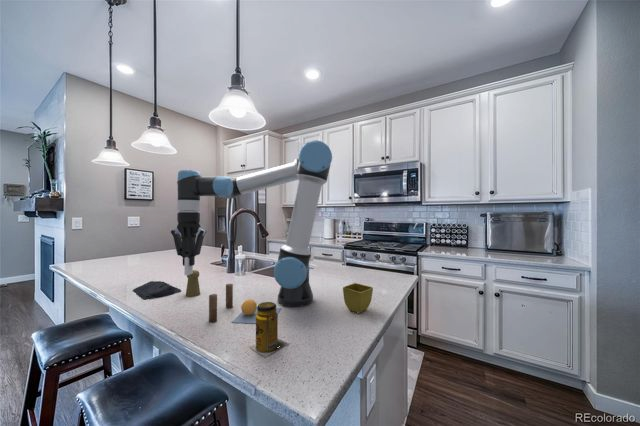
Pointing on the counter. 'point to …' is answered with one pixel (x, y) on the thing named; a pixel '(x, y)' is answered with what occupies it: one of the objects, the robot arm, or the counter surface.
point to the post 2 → (229, 295)
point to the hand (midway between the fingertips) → (188, 274)
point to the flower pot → (357, 296)
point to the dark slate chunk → (155, 290)
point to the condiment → (267, 330)
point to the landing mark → (249, 317)
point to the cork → (193, 284)
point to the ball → (248, 307)
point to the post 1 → (212, 308)
